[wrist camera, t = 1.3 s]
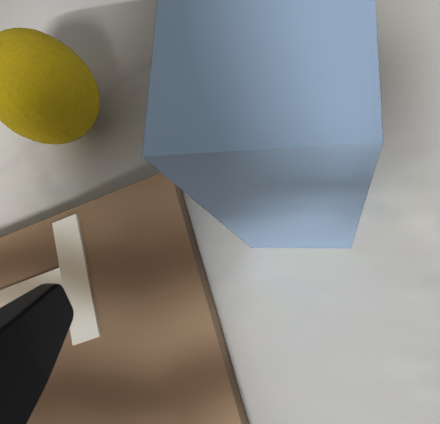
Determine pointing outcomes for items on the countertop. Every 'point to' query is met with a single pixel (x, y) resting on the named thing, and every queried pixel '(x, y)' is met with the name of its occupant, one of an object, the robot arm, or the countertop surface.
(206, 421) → the board
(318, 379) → the countertop surface
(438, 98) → the countertop surface
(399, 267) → the countertop surface
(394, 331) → the countertop surface
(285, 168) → the light blue block
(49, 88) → the lemon
